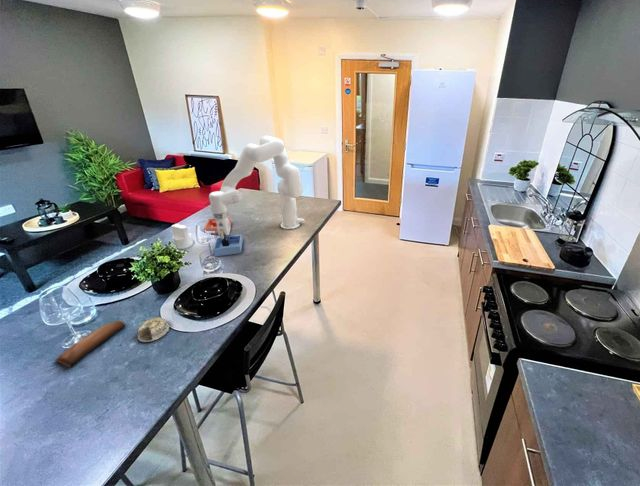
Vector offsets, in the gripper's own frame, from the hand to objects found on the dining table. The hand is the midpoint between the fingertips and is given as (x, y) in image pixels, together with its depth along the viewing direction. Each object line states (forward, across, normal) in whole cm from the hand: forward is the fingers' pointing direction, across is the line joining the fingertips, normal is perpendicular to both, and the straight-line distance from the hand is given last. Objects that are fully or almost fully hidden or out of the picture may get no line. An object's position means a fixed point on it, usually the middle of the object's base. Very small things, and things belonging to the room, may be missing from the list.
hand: (226, 243), depth 161 cm
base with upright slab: (+4, +11, +24) cm, 27 cm away
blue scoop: (0, 0, -2) cm, 2 cm away
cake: (+4, -56, +19) cm, 59 cm away
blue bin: (+4, 0, -1) cm, 4 cm away
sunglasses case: (+4, -56, +38) cm, 68 cm away
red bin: (+4, +27, +8) cm, 28 cm away
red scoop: (+3, +27, +7) cm, 28 cm away
